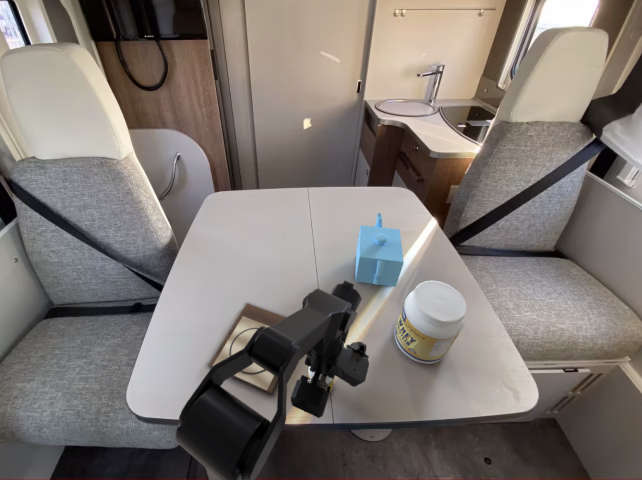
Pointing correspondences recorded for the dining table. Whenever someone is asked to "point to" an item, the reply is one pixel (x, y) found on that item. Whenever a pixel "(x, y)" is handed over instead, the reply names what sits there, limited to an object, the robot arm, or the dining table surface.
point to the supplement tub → (430, 321)
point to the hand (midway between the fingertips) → (320, 379)
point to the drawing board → (238, 340)
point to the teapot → (378, 255)
